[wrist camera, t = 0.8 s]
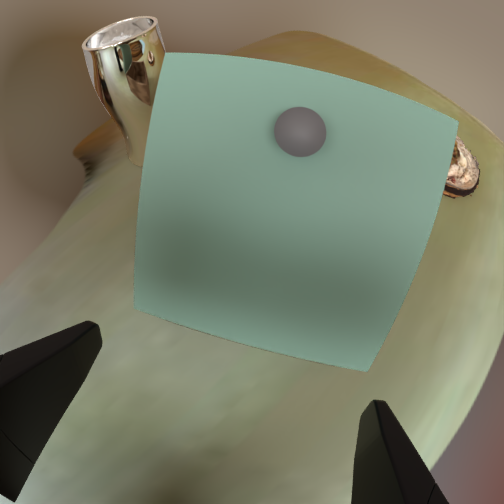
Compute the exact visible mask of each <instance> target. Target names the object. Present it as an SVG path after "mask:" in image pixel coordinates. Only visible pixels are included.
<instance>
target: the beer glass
mask: <svg viewBox="0 0 504 504" xmlns="http://www.w3.org/2000/svg"><path fill="white" fill-rule="evenodd" d="M82 48H83V51H84V54H85V59H86V63H87V67H88V70H89V74H90V77H91V80H92V83H93V86H94V88H95V90H96V93H97V95H98V97H99V98H100V100H101V102H102V104H103V105H104V107H105V109H106V110H107V111H108V113H109V114H110V116H111V117H112V119H113V120H114V122H115V123H116V124H117V126H118V127H119V129H120V131H121V133H122V135H123V137H124V140H125V145H126V151H127V155H128V158H129V160H130V161H131V162H132V163H133V164H134V165H136V166H140V167H143V163H144V156H145V149H146V143H147V137H148V131H149V125H150V119H151V114H152V109H153V104H154V99H155V94H156V90H157V85H158V81H159V76H160V72H161V68H162V64H163V60H164V56H165V53H166V52H165V48H164V44H163V40H162V36H161V33H160V30H159V26H158V20H157V19H156V18H154V17H151V16H140V17H133V18H129V19H125V20H121V21H118V22H116V23H113V24H110V25H108V26H106V27H104V28H102V29H100V30H98V31H97V32H95V33H93V34H92V35H91V36H89V37H88V38H87V39H86V40H85V41H84V43H83V45H82Z"/></svg>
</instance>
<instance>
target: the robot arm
mask: <svg viewBox="0 0 504 504" xmlns="http://www.w3.org/2000/svg"><path fill="white" fill-rule="evenodd" d="M101 347H102V337H101V332H100V328H99V325H98V324H96V323H94V322H92V321H84V322H82V323H80V324H77V325H75V326H72V327H70V328H67V329H65V330H62V331H60V332H57V333H55V334H52V335H50V336H47V337H45V338H42V339H40V340H37V341H34V342H32V343H29V344H27V345H24V346H22V347H19V348H17V349H14V350H12V351H9V352H7V353H5V354H4V355H3V354H2V355H0V494H1V495H3V496H4V497H6V498H8V499H9V500H11V501H12V502H15V501H16V500H17V498H18V496H19V494H20V492H21V490H22V488H23V486H24V484H25V482H26V480H27V478H28V476H29V474H30V472H31V471H32V469H33V467H34V464H35V463H36V461H37V459H38V457H39V456H40V454H41V452H42V450H43V448H44V447H45V445H46V443H47V441H48V440H49V438H50V436H51V435H52V433H53V431H54V429H55V428H56V426H57V424H58V423H59V421H60V419H61V418H62V416H63V414H64V413H65V411H66V410H67V408H68V406H69V405H70V403H71V401H72V400H73V398H74V397H75V395H76V394H77V392H78V390H79V389H80V387H81V386H82V384H83V382H84V381H85V379H86V377H87V375H88V373H89V371H90V369H91V367H92V365H93V363H94V361H95V359H96V357H97V355H98V353H99V351H100V349H101ZM351 504H449V502H448V501H447V499H446V498H445V496H444V495H443V493H442V491H441V490H440V488H439V486H438V485H437V483H435V480H434V478H433V477H432V475H431V473H430V472H429V470H428V468H427V467H426V465H425V463H424V462H423V460H422V458H421V457H420V455H419V454H418V452H417V450H416V449H415V447H414V445H413V444H412V442H411V441H410V439H409V437H408V436H407V434H406V433H405V431H404V429H403V428H402V426H401V425H400V423H399V421H398V420H397V418H396V417H395V415H394V414H393V412H392V410H391V409H390V407H389V406H388V404H387V403H386V402H385V401H383V400H372V401H371V402H370V404H369V405H368V406H367V408H366V409H365V410H364V412H363V413H362V415H361V417H360V423H359V430H358V438H357V444H356V451H355V458H354V470H353V486H352V499H351Z"/></svg>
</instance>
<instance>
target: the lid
mask: <svg viewBox="0 0 504 504" xmlns="http://www.w3.org/2000/svg"><path fill="white" fill-rule="evenodd" d="M458 124H459V121H457V120H455V119H453V118H451V117H449V116H447V115H445V114H442V113H440V112H438V111H436V110H434V109H431V108H429V107H427V106H425V105H422V104H420V103H418V102H415V101H413V100H410V99H408V98H405V97H403V96H400V95H397V94H395V93H392V92H389V91H386V90H384V89H381V88H378V87H375V86H372V85H369V84H365V83H362V82H359V81H356V80H352V79H349V78H345V77H342V76H338V75H334V74H331V73H327V72H323V71H318V70H314V69H310V68H305V67H300V66H295V65H290V64H285V63H279V62H273V61H267V60H261V59H253V58H246V57H237V56H227V55H215V54H197V53H165V56H164V60H163V64H162V68H161V72H160V76H159V81H158V85H157V90H156V94H155V99H154V104H153V109H152V114H151V119H150V125H149V131H148V137H147V143H146V149H145V156H144V163H143V170H142V178H141V187H140V196H139V206H138V217H137V229H136V245H135V265H134V309H137V310H140V311H142V312H145V313H148V314H151V315H153V316H156V317H159V318H162V319H165V320H168V321H171V322H173V323H176V324H179V325H182V326H185V327H189V328H192V329H195V330H198V331H201V332H204V333H208V334H211V335H214V336H217V337H221V338H224V339H228V340H231V341H234V342H238V343H242V344H245V345H249V346H253V347H256V348H260V349H264V350H268V351H272V352H276V353H280V354H284V355H288V356H292V357H296V358H301V359H305V360H309V361H314V362H319V363H323V364H328V365H333V366H338V367H343V368H348V369H354V370H359V371H365V372H368V370H369V368H370V366H371V365H372V363H373V361H374V359H375V357H376V356H377V354H378V352H379V350H380V348H381V346H382V344H383V342H384V341H385V339H386V337H387V335H388V333H389V331H390V329H391V327H392V325H393V323H394V321H395V319H396V316H397V314H398V312H399V310H400V308H401V306H402V304H403V301H404V299H405V297H406V295H407V292H408V290H409V288H410V285H411V283H412V281H413V278H414V276H415V273H416V271H417V268H418V266H419V263H420V261H421V258H422V255H423V253H424V250H425V247H426V245H427V242H428V239H429V236H430V233H431V230H432V227H433V224H434V221H435V218H436V215H437V212H438V208H439V205H440V202H441V198H442V195H443V191H444V187H445V184H446V180H447V176H448V172H449V168H450V163H451V159H452V155H453V150H454V145H455V140H456V135H457V129H458Z"/></svg>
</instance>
